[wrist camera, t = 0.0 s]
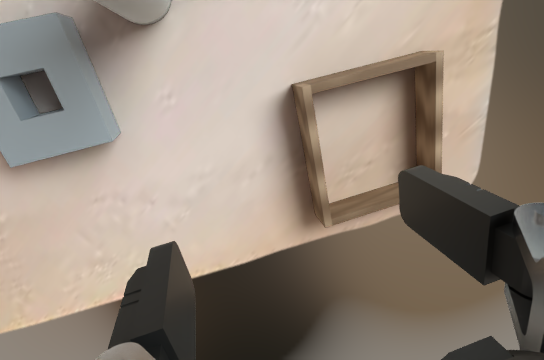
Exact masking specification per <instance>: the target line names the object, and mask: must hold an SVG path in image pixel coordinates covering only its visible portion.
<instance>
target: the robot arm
mask: <svg viewBox="0 0 544 360" xmlns="http://www.w3.org/2000/svg"><path fill="white" fill-rule="evenodd" d="M398 184H399V205H400V213H401V216H402V218H403V220H404V222H405V223H406V224H407V225H408V226H409V227H410V228H411V229H412V230H414V231H415V232H416V233H418V234H419V235H420V236H421V237H423V238H424V239H425V240H427V241H428V242H429V243H430V244H432V245H433V246H434V247H435V248H437V249H438V250H439V251H440V252H442V253H443V254H445V255H446V256H447V257H448V258H449V259H451V260H452V261H453V262H454V263H456V264H457V265H458V266H460V267H461V268H462V269H464V270H465V271H466V272H467V273H469V274H470V275H471V276H472V277H474V278H475V279H476V280H477V281H479V282H480V283H481V284H482V285H487V284H489V283H492V282H495V281H497V280H500V279H501V280H503V281H504V282H505V288H504V293H505V297H506V300H507V304H508V307H509V311H510V314H511V318H512V321H513V325H514V329H515V332H516V336H517V340H518V343H519V347H520V350H506V349H505V348H504V347H502V346H501V345H500V344H499V343H498V342H497V341H496V340H495V339H494V338H493V337H492V336H489V337H487V338H484V339H482V340H479V341H477V342H474V343H472V344H469V345H467V346H464V347H462V348H460V349H457V350H454V351H453V352H450V353H448V354H447V355H446V356H445V357H444V358H443V359H441V360H544V203H529V204H525V205H522V206H519V205H517V204H515V203H512V202H510V201H508V200H506V199H503V198H501V197H499V196H497V195H495V194H493V193H490V192H488V191H486V190H481V188H479V187H477V186H475V185H473V184H471V185H470V183H468V182H466V181H464V180H462V179H460V178H457V177H454V176H449V175H444V174H441V173H439V172H437V171H434V170H432V169H430V168H428V167H426V166H423V165H420V166H416V167H413V168H410V169H407V170H404V171H401V172H400V173H399V176H398ZM195 346H196V345H195V291H194V286H193V282H192V279H191V276H190V274H189V271H188V269H187V266H186V264H185V262H184V259H183V257H182V254H181V252H180V249H179V247H178V245H177V243H176V242H175V241H173V242H169V243H166V244H163V245H160V246H156V247H153V248H151V249H150V253H149V257H148V262H147V266H144V267H141V268H138V269H137V270H136V271H135V273H134V274H133V275H132V277H131V278H130V279H129V281H128V282H127V286H126V289H125V292H124V297H123V299H122V303H121V309H119V313H118V317H117V320H116V323H115V327H114V330H113V333H112V336H111V340H110V344H109V347H108V350H107V351H105V352H104V353H102V354H101V355H100V356H98V357H97V358H96V359H95V360H196V359H195V357H196V356H195V355H196V348H195Z"/></svg>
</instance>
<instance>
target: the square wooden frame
mask: <svg viewBox="0 0 544 360" xmlns="http://www.w3.org/2000/svg"><path fill="white" fill-rule="evenodd" d="M443 59H444V51H420V52H416V53H412V54H409V55H405V56H401V57H397V58H393V59H389V60H385V61H381V62H377V63H373V64H369V65H365V66H362V67H358V68H354V69H350V70H346V71H342V72H338V73H334V74H330V75H326V76H322V77H319V78H315V79H311V80H307V81H303V82H299V83H295V84H292V88H293V93H294V99H295V105H296V110H297V116H298V121H299V127H300V133H301V138H302V144H303V149H304V155H305V160H306V166H307V172H308V177H309V183H310V188H311V194H312V200H313V205H314V211H315V215H316V216H317V217H318V219H319V220H320V221H321V223H322V224H323V225H324V226H325V228H326V227H329V226H332V225H335V224H339V223H342V222H345V221H348V220H351V219H354V218H357V217H360V216H363V215H366V214H369V213H372V212H376V211H379V210H382V209H385V208H388V207H391V206H394V205H397V204H399V184H398V182H397V183H394V184H391V185H388V186H384V187H381V188H378V189H375V190H372V191H368V192H365V193H362V194H359V195H356V196H352V197H349V198H346V199H343V200H340V201H337V202H333V203H330V204H329V201H328V195H327V188H326V182H325V175H324V169H323V162H322V156H321V149H320V143H319V136H318V130H317V124H316V117H315V111H314V104H313V98H312V94H313V93H317V92H321V91H325V90H329V89H332V88H336V87H340V86H344V85H348V84H352V83H355V82H359V81H363V80H367V79H371V78H374V77H378V76H382V75H386V74H390V73H393V72H397V71H401V70H405V69H409V68H413V67H415V105H416V156H417V166H420V165H423V166H426V167H428V168H430V169H432V170H434V171H437V172H439V173H441V174H442V119H443Z"/></svg>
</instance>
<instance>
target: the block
mask: <svg viewBox="0 0 544 360" xmlns="http://www.w3.org/2000/svg"><path fill="white" fill-rule="evenodd" d="M43 70H45V72H46V74H47V76H48V78H49V80H50V82H51V84H52V86H53V89H54V91H55V93H56V95H57V97H58V99H59V101H60V103H61V105H62V107H63V109H59V110H55V111H50V112H46V113H42V114H39V112H38V110H37V108H36V106H35V104H34V102H33V100H32V99H31V97H30V95H29V93H28V91H27V89H26V87H25V85H24V83H23V81H22V79H21V78H20V76H21V75H25V74H30V73H34V72H38V71H43ZM120 133H121V131H120V129H119V127H118V124H117V122H116V119H115V117H114V115H113V112H112V110H111V108H110V105H109V103H108V101H107V98H106V96H105V94H104V91H103V89H102V87H101V84H100V82H99V80H98V77H97V75H96V73H95V70H94V68H93V66H92V63H91V61H90V59H89V56H88V54H87V51H86V49H85V47H84V44H83V42H82V40H81V37H80V35H79V33H78V30H77V28H76V26H75V23H74V21H73V19H72V18H71V17H68V16H65V15H62V14H59V13H51V14H46V15H41V16H36V17H31V18H26V19H21V20H16V21H11V22H6V23H1V24H0V151H1V153H2V155H3V156H4V158H5V159H6V161H7V163H8V164H9V166H10V168H11V167H15V166H19V165H23V164H27V163H30V162H34V161H38V160H42V159H46V158H50V157H53V156H57V155H61V154H65V153H69V152H73V151H77V150H80V149H84V148H88V147H92V146H96V145H100V144H103V143H107V142H111V141H113V140H114V139H115V138H116V137H117V136H118V135H119V134H120Z"/></svg>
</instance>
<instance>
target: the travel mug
mask: <svg viewBox="0 0 544 360" xmlns="http://www.w3.org/2000/svg"><path fill="white" fill-rule="evenodd" d="M93 1H95V2H97V3H99V4H100V5H102V6H104V7H106V8H107V9H109V10H111V11H113V12H114V13H116V14H118V15H120V16H121V17H123V18H125V19H127V20H128V21H131V22H133V23H136V24H141V25H148V24H153V23H155V22H157V21H159V20H161V19H162V18H163V17H164V16H165V15H166V13H167V12H168V10H169V8H170V5H171V1H172V0H93Z"/></svg>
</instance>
